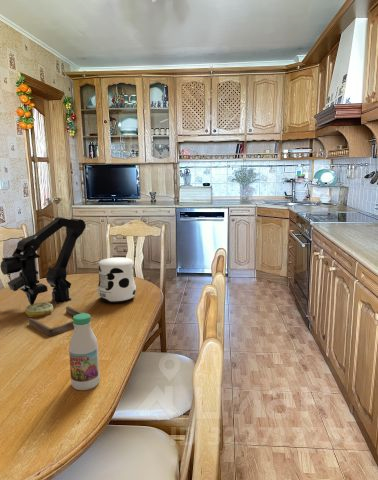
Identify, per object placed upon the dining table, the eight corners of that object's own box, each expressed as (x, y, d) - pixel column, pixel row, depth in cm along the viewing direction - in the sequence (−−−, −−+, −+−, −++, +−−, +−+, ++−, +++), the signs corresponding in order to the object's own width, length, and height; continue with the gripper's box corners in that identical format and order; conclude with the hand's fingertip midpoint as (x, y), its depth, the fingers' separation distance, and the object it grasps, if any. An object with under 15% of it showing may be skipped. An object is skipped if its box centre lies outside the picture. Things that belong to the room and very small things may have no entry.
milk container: (138, 292, 178) (136, 256, 175) (133, 305, 161) (132, 266, 158) (102, 293, 177) (100, 257, 174) (94, 305, 160) (92, 266, 157)
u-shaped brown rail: (68, 311, 154) (68, 306, 153) (90, 321, 143) (90, 315, 143) (29, 324, 141) (28, 318, 140) (50, 336, 131) (49, 330, 130)
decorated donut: (58, 313, 153) (57, 304, 152) (32, 320, 145) (32, 312, 144) (46, 307, 160) (45, 298, 159) (21, 314, 152) (20, 305, 151)
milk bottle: (74, 376, 105) (70, 311, 102) (101, 374, 106) (98, 310, 102) (68, 392, 98) (63, 322, 94) (97, 390, 98) (93, 321, 95)
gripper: (-1, 269, 153) (3, 304, 156) (19, 277, 141) (23, 315, 144) (25, 264, 162) (28, 297, 164) (46, 271, 149) (49, 307, 152)
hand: (31, 304), depth 156 cm, fingers closed
